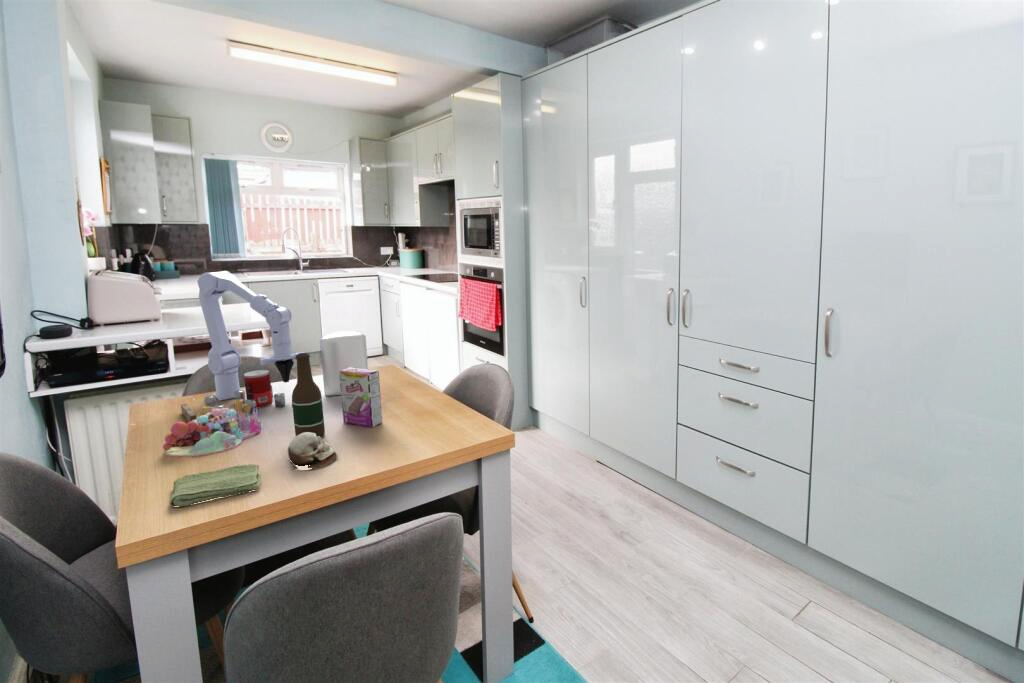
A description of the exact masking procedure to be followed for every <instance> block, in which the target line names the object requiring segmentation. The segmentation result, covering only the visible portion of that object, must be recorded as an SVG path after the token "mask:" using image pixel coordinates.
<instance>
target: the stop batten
mask: <svg viewBox="0 0 1024 683" xmlns="http://www.w3.org/2000/svg"><path fill="white" fill-rule="evenodd" d="M180 408H181V413H182V415H183V416H184V417H185V419H186V421H187V422H190V421H192V420H195V419H197V418H198V417H197V414H196V413H195V412H194V411H193V409H192V408H190V406H189V405H188V404H187V403H181V404H180Z"/></svg>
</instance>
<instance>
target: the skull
mask: <svg viewBox="0 0 1024 683" xmlns="http://www.w3.org/2000/svg"><path fill="white" fill-rule="evenodd" d="M287 448H288V449H287V453H288V459H290V460H291V461H292V462H293V463H292V464H293V465H294V464H295V465H298V466H305V465H308V468H312V470H316V469H315V468H317V469H319V468H322V467H324V466H327V465H330V464H331V463H332V462H334V461H335V460H336V458H337V456H338V454H337V452H336V451H334V449H333V448H331V447H330V444H329V443H328V442H326V441H325V439H323V438H321V437H320V436H318V437H317V436H316V434H315V433H311V432H304V433H301V434H299V435H298V436H296V435H295V437H294V438H293V439H292V440H291V441H290V443H289V444H288V447H287ZM309 465H310V466H309Z"/></svg>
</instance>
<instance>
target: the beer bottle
mask: <svg viewBox="0 0 1024 683" xmlns="http://www.w3.org/2000/svg"><path fill="white" fill-rule="evenodd" d="M298 353H299V352H298ZM310 358H311V355H310V353H308V352H305V353H299V354H297V355H296V357H295V359H294V360H296V374H297V376H296V377H297V379H296V385H295V386H294V388H293V390H292V393H291V404H292V405H291V406H292V407H291V408H292V415H293V422H294V423H293V426H294V434H295V437H296V436H298V435H299V434H301V433H304V432H311V433H315V434H316V436H317V437H318V436H320V437H321V438H322V439H323V438H324V436H325V434H326V431H325V429H326V428H325V427H326V426H325V420H324V419H325V418H324V409H323V408H324V405H323V397H322V391H321V390H320V387H319V386H318V384H316V383H315V381H314V377H313V374H312V368H311V367H312V366H311V361H310Z"/></svg>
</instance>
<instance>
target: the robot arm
mask: <svg viewBox="0 0 1024 683" xmlns="http://www.w3.org/2000/svg"><path fill="white" fill-rule="evenodd" d="M196 283H197V286H198V290H199V293H198V298H199V299H198V300H199V303H200V307H201V311H202V313H203V318H204V321H205V326H206V328H207V333H208V336H209V341H210V344H211V348H210V349H209V351H208V353H207V356H208V358H207V359H208V360H207V361H208V362H207V366H208V369H209V370H210V372H212V374H213V375H214V384H215V392H216V393H213V396H215V398H216V400H217V401H225V400H231V399H235V396H234V392H235V391H238V390H241V387H240V380H239V373H238V372H239V371H238V370H239V367H240V366H241V364H242V358H241V356H240V354H239V352H238V351H237V348H236V346H234V345H233V344H231V343H230V339H229V336H228V332H227V327H226V324H225V321H224V318H223V313H222V310H221V306H220V305H221V304H220V301H219V299H220V298H221V296H222V295H223V294H225V292H228V291H229V292H231V293H233V294H235V295H237V296H238V297H239V298H241V299H243V300H245V301H246V302H248V303H249V307H250V308H251V309H252V310H253V311H255V312H256V313H257V314H259V315H261V316H262V317H263V318H265V321H266V323H267V325H268V326H269V330H270V332H271V333H270V334H271V340H272V341H271V342H272V349H273V355H271V356H267V357H262V358H259V360H260V361H259V362H260V365H261V366H265V365H269V364H274V366H275V367H276V369H277V370H278V372H279V373H280V377H281V379H282V382H283V383H289V382H290V376H291V371H292V369H293V366H294V364H295V363H294V360H296V359H295V357H296V355H297V354H299V353H306V352H304V351H301V352H293V351H292V342H291V341H292V340H291V334H290V322H291V320H292V313H291V310H290V309H288V308H287V306H279V304H278V303H275V302H273V301H272V300H271V299H269V298H268V295H266V294H261V293H260V294H256V293H255V292H254V291H252V290H251V289H249V288H248V287H247V286H246V285H245V284H244V283H242V282H241V281H239V280H238V279H237V277H236V275H234V274H232V273H231V272H230V271H228V270H221V271H214V272H213V271H212V272H203V273H202V274H201V275H200V277H199V278H198V279H197V281H196Z"/></svg>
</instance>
